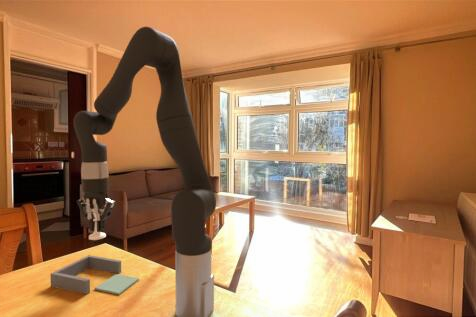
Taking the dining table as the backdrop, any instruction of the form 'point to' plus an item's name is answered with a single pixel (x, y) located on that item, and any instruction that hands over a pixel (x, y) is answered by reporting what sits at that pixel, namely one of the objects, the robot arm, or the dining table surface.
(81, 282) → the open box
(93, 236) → the chess piece
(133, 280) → the mat
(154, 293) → the dining table surface
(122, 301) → the dining table surface
